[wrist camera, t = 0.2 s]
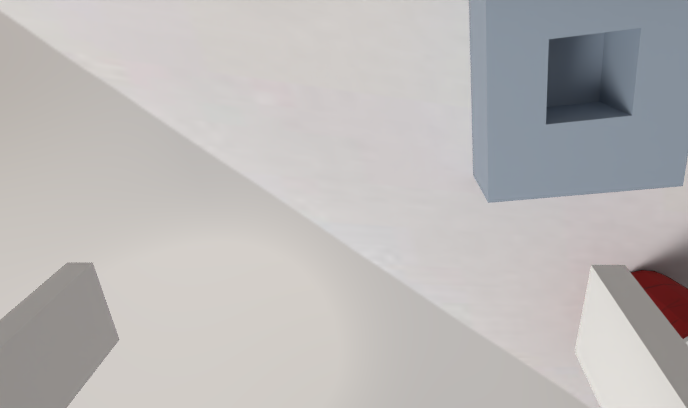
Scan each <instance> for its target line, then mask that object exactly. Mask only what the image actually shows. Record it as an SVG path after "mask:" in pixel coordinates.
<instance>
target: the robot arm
mask: <svg viewBox="0 0 688 408" xmlns="http://www.w3.org/2000/svg"><path fill="white" fill-rule="evenodd" d="M118 341H119V337H118V334H117V331H116V329H115V326H114V323H113V320H112V317H111V314H110V311H109V308H108V306H107V303H106V300H105V297H104V294H103V291H102V288H101V285H100V282H99V280H98V277H97V274H96V271H95V268H94V265H93V263H66V264H65V265H64V266H63V267H62V268H61V269H59V270H58V271H57V272H56V273H55V274H53V275H52V276H51V277H50V278H49V279H48V280H47V281H45V282H44V283H43V284H42V285H41V286H39V287H38V288H37V289H36V290H35V291H34V292H33V293H31V294H30V295H29V296H28V297H27V298H25V299H24V300H23V301H22V302H21V303H20V304H18V305H17V306H16V307H15V308H14V309H12V310H11V311H10V312H9V313H8V314H7V315H6V316H4V317H3V318H2V319H1V320H0V408H67V406H68V405H69V404H70V403H71V401H72V400H73V399H74V397H75V396H76V395H77V394H78V392H79V391H80V390H81V388H82V387H83V386H84V385H85V383H86V382H87V380H88V379H89V378H90V377H91V375H92V374H93V373H94V372H95V370H96V369H97V367H98V366H99V365H100V364H101V363H102V361H103V360H104V359H105V357H106V356H107V355H108V354H109V352H110V351H111V350H112V348H113V347H114V346H115V345H116V343H117V342H118ZM575 354H576V356H577V358H578V360H579V362H580V365H581V367H582V369H583V371H584V373H585V375H586V377H587V380H588V382H589V384H590V386H591V388H592V390H593V392H594V395H595V397H596V399H597V401H598V403H599V405H600V407H601V408H688V345H687V344H686V343H685V341H684V340H683V339H682V338H681V336H680V335H679V334H678V333H677V331H676V330H675V329H674V327H673V326H672V325H671V324H670V322H669V321H668V320H667V319H666V317H665V316H664V315H663V313H662V312H661V311H660V310H659V308H658V307H657V306H656V304H655V303H654V302H653V301H652V299H651V298H650V297H649V296H648V294H647V293H646V292H645V290H644V289H643V288H642V287H641V285H640V284H639V283H638V282H637V280H636V279H635V278H634V276H633V275H632V274H631V273H630V271H629V270H628V269H627V267H626V266H625V265H591V269H590V274H589V279H588V284H587V290H586V295H585V300H584V305H583V310H582V316H581V321H580V326H579V331H578V336H577V341H576V347H575Z"/></svg>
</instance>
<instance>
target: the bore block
mask: <svg viewBox="0 0 688 408" xmlns="http://www.w3.org/2000/svg"><path fill="white" fill-rule="evenodd" d="M469 14H470V55H471V96H472V137H473V175H474V177H475V179H476V181H477V183H478V185H479V186H480V188H481V190H482V192H483V194H484V196H485V198H486V199H487V201H488V203H490V202H502V201H514V200H525V199H537V198H549V197H560V196H572V195H584V194H595V193H607V192H619V191H630V190H642V189H654V188H665V187H677V186H683V182H684V175H685V169H686V162H687V156H688V0H469Z"/></svg>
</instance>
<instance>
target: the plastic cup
mask: <svg viewBox="0 0 688 408" xmlns="http://www.w3.org/2000/svg"><path fill="white" fill-rule="evenodd" d="M631 274H632V275H633V276H634V278H635V279H636V280H637V282H638V283H639V284H640V285H641V287H642V288H643V289H644V290H645V292H646V293H647V294H648V296H649V297H650V298H651V299H652V301H653V302H654V303H655V304H656V306H657V307H658V308H659V310H660V311H661V312H662V313H663V315H664V316H665V317H666V319H667V320H668V321H669V322H670V324H671V325H672V326H673V327H674V329H675V330H676V331H677V333H678V334H679V335H680V336H681V338H682V339H683V340H684V341H685V343H686V344H687V345H688V288H686V287H684V286H682V285H680V284H679V283H677V282H676V281H674V280H672V279H671V278H669V277H667V276H665V275H663V274H660V273H657V272H655V271H646V270H640V271H636V272H632V273H631Z"/></svg>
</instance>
